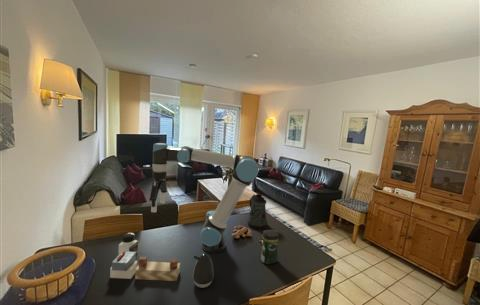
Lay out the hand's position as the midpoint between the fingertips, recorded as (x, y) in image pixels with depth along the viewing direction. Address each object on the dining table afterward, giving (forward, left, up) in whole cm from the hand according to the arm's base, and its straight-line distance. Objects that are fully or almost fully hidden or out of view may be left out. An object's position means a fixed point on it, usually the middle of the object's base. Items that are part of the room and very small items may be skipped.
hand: (158, 207), depth 118 cm
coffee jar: (-66, 0, -29) cm, 72 cm away
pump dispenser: (-30, +21, -29) cm, 47 cm away
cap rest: (+10, +17, -29) cm, 35 cm away
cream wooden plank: (-7, +17, -29) cm, 34 cm away
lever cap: (+10, +17, -24) cm, 31 cm away
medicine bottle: (+16, +1, -29) cm, 33 cm away
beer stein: (-63, -47, -29) cm, 84 cm away
